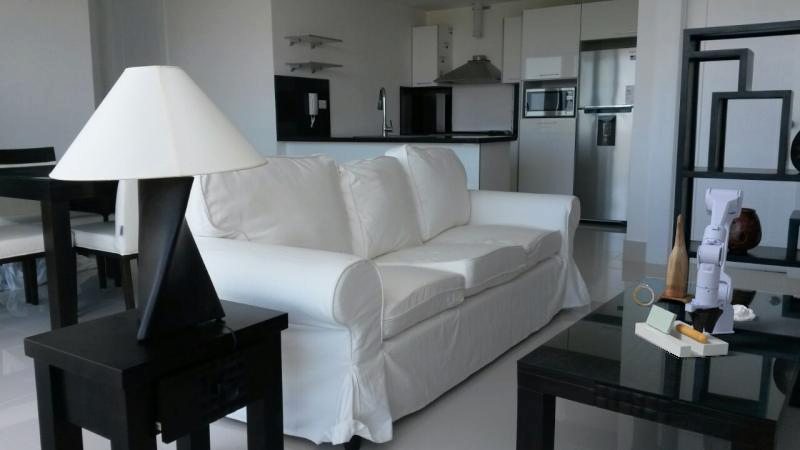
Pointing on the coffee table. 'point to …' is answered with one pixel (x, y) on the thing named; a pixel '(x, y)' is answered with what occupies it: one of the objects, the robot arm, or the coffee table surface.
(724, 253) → the robot arm
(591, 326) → the coffee table surface
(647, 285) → the ring
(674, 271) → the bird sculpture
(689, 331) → the orange rounded rod
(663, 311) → the cover
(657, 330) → the board
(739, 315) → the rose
